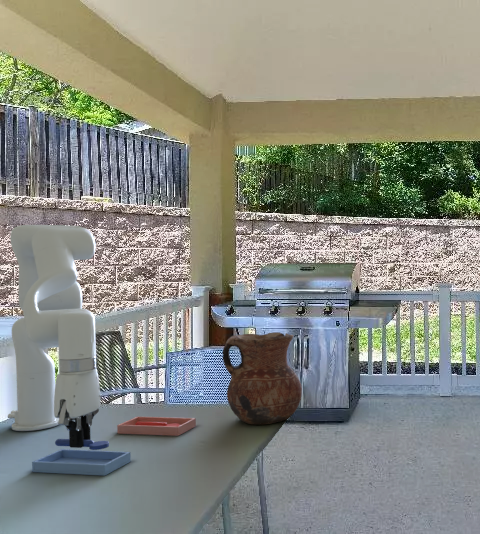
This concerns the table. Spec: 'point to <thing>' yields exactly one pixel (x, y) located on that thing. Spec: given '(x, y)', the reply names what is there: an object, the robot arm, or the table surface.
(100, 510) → the table surface
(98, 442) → the navy spoon
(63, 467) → the blue tray
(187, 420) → the rose tray
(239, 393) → the jug
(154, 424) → the red spoon
